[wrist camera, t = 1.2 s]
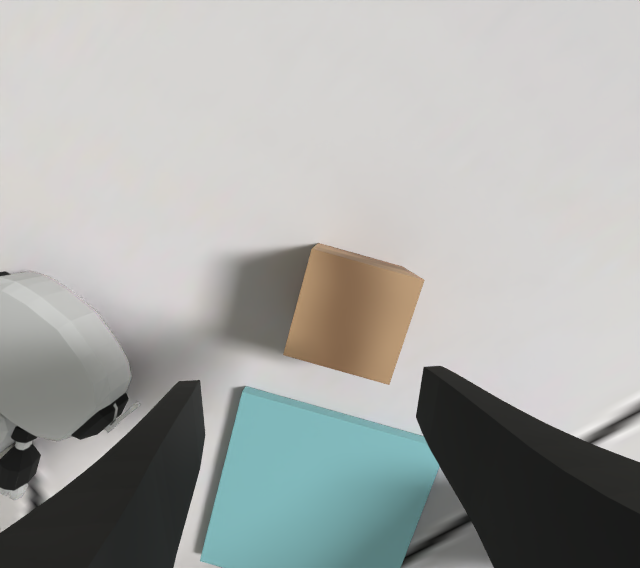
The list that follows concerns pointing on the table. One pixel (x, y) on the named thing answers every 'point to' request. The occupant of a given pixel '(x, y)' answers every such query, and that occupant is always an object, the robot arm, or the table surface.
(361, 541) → the teal board
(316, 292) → the walnut cube
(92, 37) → the table surface
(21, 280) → the robot toy
